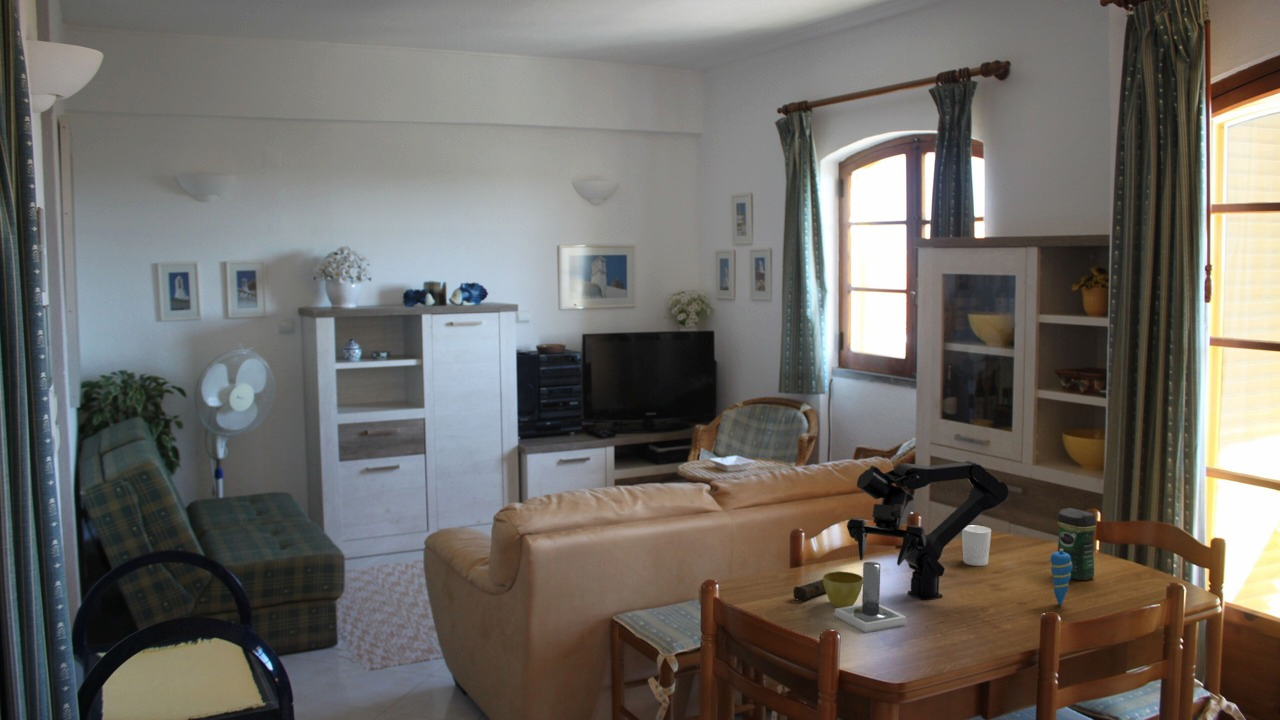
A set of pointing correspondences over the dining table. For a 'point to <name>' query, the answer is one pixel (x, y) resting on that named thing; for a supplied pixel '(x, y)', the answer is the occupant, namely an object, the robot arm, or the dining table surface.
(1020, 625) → the dining table surface
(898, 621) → the tray
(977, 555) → the white cup
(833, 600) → the flower pot
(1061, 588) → the ornament
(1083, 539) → the coffee jar
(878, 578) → the steel stop
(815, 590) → the hand tool
